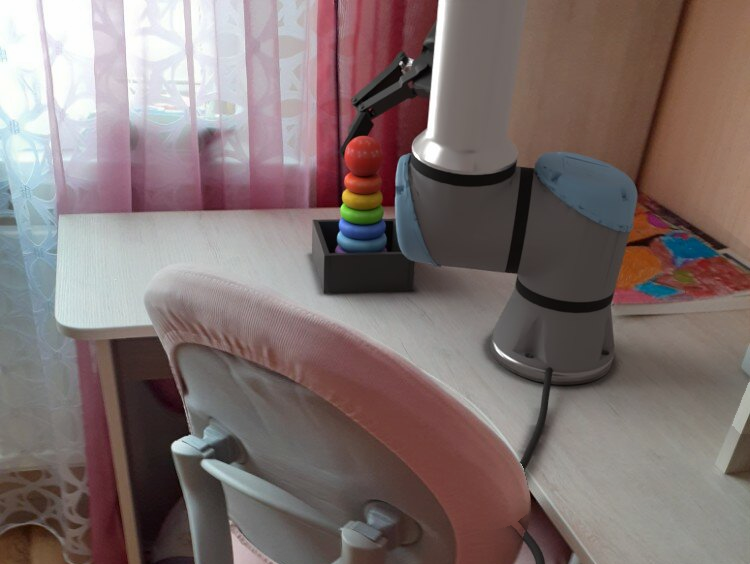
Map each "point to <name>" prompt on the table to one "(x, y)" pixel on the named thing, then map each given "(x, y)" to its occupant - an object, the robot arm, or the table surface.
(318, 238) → the box
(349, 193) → the stacking toy
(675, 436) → the table surface
